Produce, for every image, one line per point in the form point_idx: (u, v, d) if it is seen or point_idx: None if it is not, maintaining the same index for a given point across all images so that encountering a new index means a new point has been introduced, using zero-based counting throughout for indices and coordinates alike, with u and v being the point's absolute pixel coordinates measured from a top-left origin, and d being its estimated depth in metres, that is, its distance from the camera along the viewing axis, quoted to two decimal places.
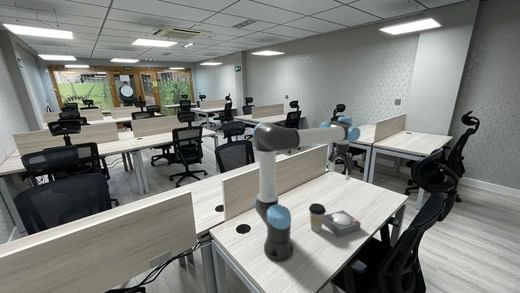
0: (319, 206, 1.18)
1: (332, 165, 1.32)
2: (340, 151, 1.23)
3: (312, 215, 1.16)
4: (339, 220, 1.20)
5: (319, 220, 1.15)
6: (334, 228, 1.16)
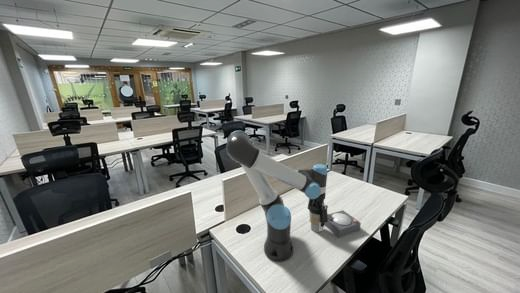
0: None
1: None
2: (316, 200, 1.15)
3: (312, 215, 1.16)
4: (339, 220, 1.20)
5: (319, 220, 1.15)
6: (334, 228, 1.16)
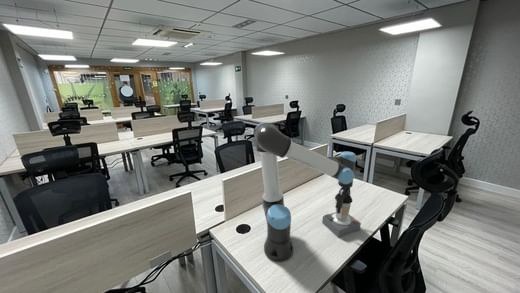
0: (346, 197, 1.17)
1: None
2: None
3: (336, 201, 1.20)
4: None
5: None
6: (334, 228, 1.16)
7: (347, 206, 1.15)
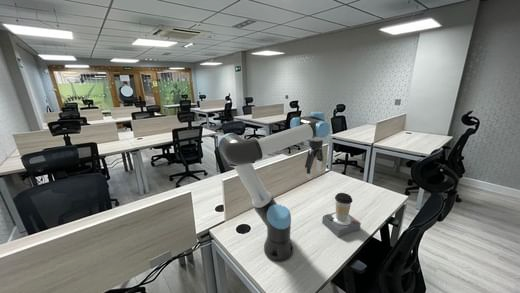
0: (346, 197, 1.17)
1: (318, 164, 1.24)
2: None
3: (336, 201, 1.20)
4: None
5: (338, 208, 1.17)
6: (334, 228, 1.16)
7: (347, 206, 1.15)
